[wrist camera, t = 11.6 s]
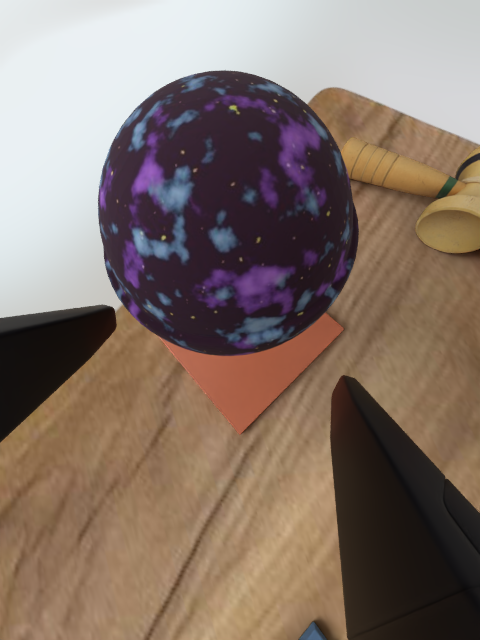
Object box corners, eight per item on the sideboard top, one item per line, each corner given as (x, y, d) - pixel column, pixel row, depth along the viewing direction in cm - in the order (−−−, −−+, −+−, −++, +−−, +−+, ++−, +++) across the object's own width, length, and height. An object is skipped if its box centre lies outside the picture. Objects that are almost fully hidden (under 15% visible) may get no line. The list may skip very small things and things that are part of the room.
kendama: (312, 214, 23) (536, 303, 16) (330, 139, 17) (677, 228, 11) (348, 178, 25) (551, 242, 19) (373, 103, 20) (670, 157, 14)
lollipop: (262, 397, 16) (305, 442, 2) (186, 349, 18) (-105, 173, 3) (306, 319, 18) (509, 24, 3) (233, 280, 19) (164, -39, 5)
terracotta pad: (240, 433, 16) (239, 435, 16) (158, 334, 19) (155, 333, 18) (342, 330, 18) (344, 328, 17) (254, 252, 20) (254, 249, 20)
